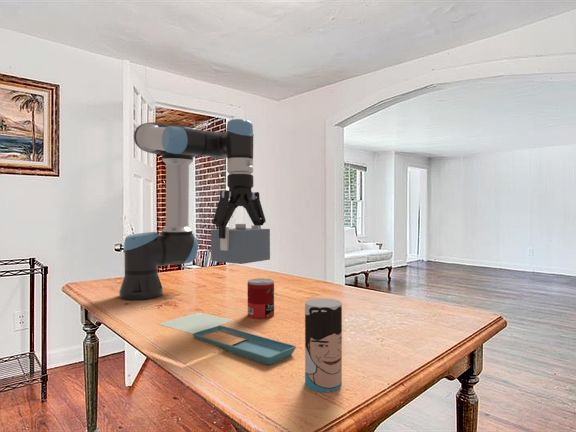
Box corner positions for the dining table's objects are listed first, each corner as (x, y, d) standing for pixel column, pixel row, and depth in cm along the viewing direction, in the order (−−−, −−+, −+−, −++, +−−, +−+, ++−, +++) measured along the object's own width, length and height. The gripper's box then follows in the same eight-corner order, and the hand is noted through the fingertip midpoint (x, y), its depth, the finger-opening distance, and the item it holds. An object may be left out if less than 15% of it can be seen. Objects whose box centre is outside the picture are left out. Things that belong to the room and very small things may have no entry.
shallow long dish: (191, 341, 96) (191, 331, 96) (220, 332, 103) (220, 323, 103) (268, 370, 79) (268, 357, 79) (297, 357, 86) (297, 345, 86)
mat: (157, 325, 108) (157, 323, 108) (199, 314, 120) (199, 312, 120) (193, 336, 99) (193, 333, 99) (234, 322, 111) (234, 320, 111)
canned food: (270, 321, 112) (270, 283, 111) (244, 320, 113) (244, 282, 113) (276, 314, 119) (276, 278, 119) (251, 313, 121) (251, 277, 120)
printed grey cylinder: (307, 392, 68) (307, 307, 68) (303, 376, 75) (303, 298, 75) (345, 391, 69) (345, 306, 68) (338, 375, 75) (338, 298, 75)
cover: (211, 260, 112) (210, 224, 112) (240, 256, 122) (240, 223, 121) (241, 264, 105) (240, 225, 105) (270, 259, 114) (269, 223, 114)
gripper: (217, 169, 101) (218, 252, 101) (276, 176, 120) (277, 246, 120) (198, 171, 106) (199, 251, 106) (258, 177, 125) (259, 245, 125)
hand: (240, 248), depth 113 cm, fingers closed on cover, 12 cm apart
